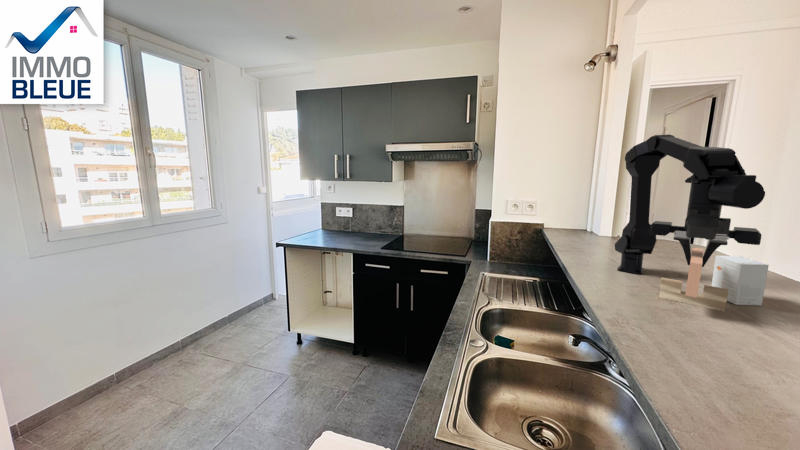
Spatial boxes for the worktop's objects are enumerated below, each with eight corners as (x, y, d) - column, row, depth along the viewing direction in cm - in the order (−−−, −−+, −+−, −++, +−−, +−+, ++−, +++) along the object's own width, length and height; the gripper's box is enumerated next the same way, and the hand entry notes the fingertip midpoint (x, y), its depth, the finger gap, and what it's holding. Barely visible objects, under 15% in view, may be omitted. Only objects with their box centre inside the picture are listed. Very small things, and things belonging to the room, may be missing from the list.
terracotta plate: (688, 276, 83) (692, 247, 81) (698, 278, 81) (703, 249, 80) (685, 295, 71) (690, 262, 70) (697, 297, 70) (702, 264, 69)
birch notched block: (659, 295, 82) (662, 277, 81) (724, 308, 74) (727, 288, 73) (658, 297, 81) (661, 279, 80) (724, 311, 72) (728, 291, 71)
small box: (762, 306, 74) (770, 264, 72) (734, 305, 75) (741, 264, 73) (734, 293, 82) (740, 255, 80) (709, 292, 83) (715, 254, 81)
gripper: (650, 204, 73) (642, 266, 76) (770, 209, 61) (756, 284, 63) (655, 199, 81) (648, 256, 84) (763, 203, 68) (751, 270, 71)
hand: (695, 265), depth 75 cm, fingers closed on terracotta plate, 2 cm apart
